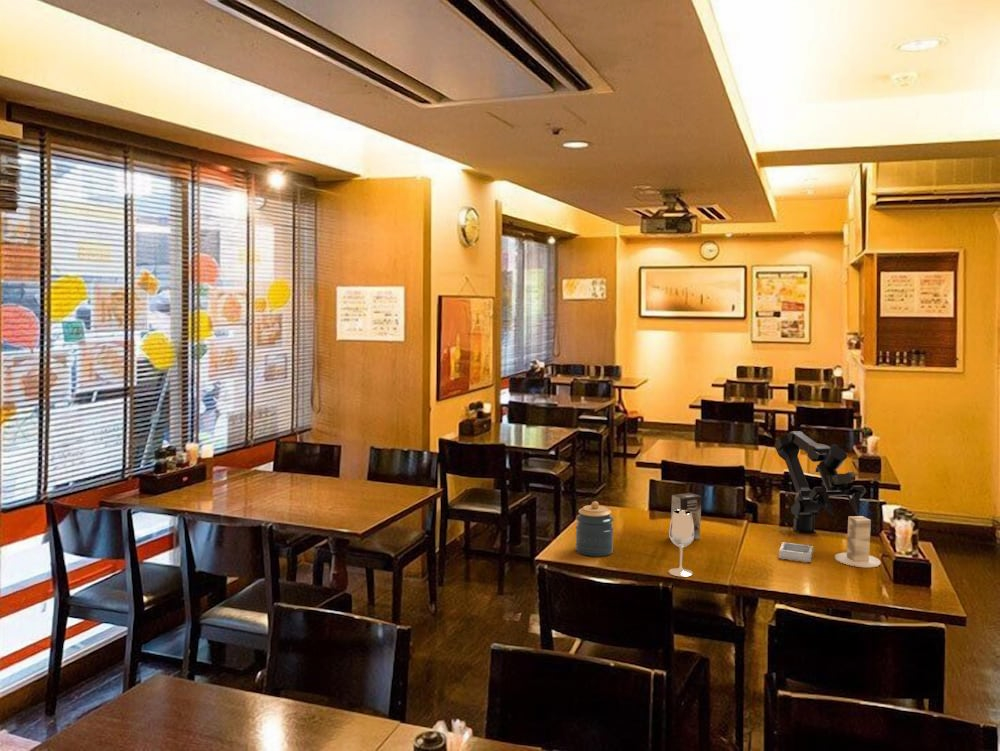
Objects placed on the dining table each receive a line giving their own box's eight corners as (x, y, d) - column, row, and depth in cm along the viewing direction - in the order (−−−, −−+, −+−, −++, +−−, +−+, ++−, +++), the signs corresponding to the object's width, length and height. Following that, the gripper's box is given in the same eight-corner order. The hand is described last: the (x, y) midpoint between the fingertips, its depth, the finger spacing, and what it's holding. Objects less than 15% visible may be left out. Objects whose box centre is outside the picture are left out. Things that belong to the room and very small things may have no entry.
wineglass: (666, 575, 253) (667, 513, 251) (670, 567, 260) (672, 507, 258) (691, 578, 250) (692, 516, 248) (694, 570, 257) (696, 510, 255)
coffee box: (681, 542, 287) (682, 498, 286) (669, 537, 293) (670, 494, 292) (700, 539, 292) (702, 495, 290) (689, 534, 297) (690, 491, 296)
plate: (867, 553, 275) (867, 552, 275) (888, 567, 261) (888, 565, 261) (827, 554, 275) (827, 552, 275) (847, 567, 261) (847, 566, 261)
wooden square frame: (782, 550, 279) (782, 542, 278) (812, 554, 274) (812, 545, 274) (778, 558, 270) (779, 550, 269) (810, 563, 265) (810, 554, 265)
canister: (620, 551, 277) (621, 501, 275) (598, 559, 268) (599, 508, 266) (590, 543, 286) (591, 495, 284) (567, 551, 276) (568, 501, 275)
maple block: (846, 556, 270) (848, 516, 269) (860, 556, 271) (862, 516, 269) (854, 561, 265) (856, 520, 264) (868, 561, 266) (870, 520, 264)
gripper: (814, 464, 277) (830, 503, 267) (864, 463, 280) (881, 501, 270) (802, 481, 286) (817, 520, 276) (850, 480, 288) (867, 518, 278)
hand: (846, 514), depth 275 cm, fingers open, 9 cm apart
